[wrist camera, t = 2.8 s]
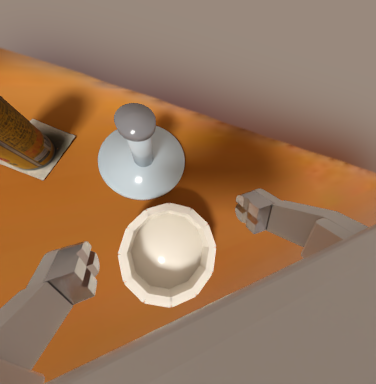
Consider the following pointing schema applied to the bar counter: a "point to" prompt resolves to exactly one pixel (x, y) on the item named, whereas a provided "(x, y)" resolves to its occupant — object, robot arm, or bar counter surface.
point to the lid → (140, 155)
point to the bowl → (167, 255)
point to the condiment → (29, 143)
